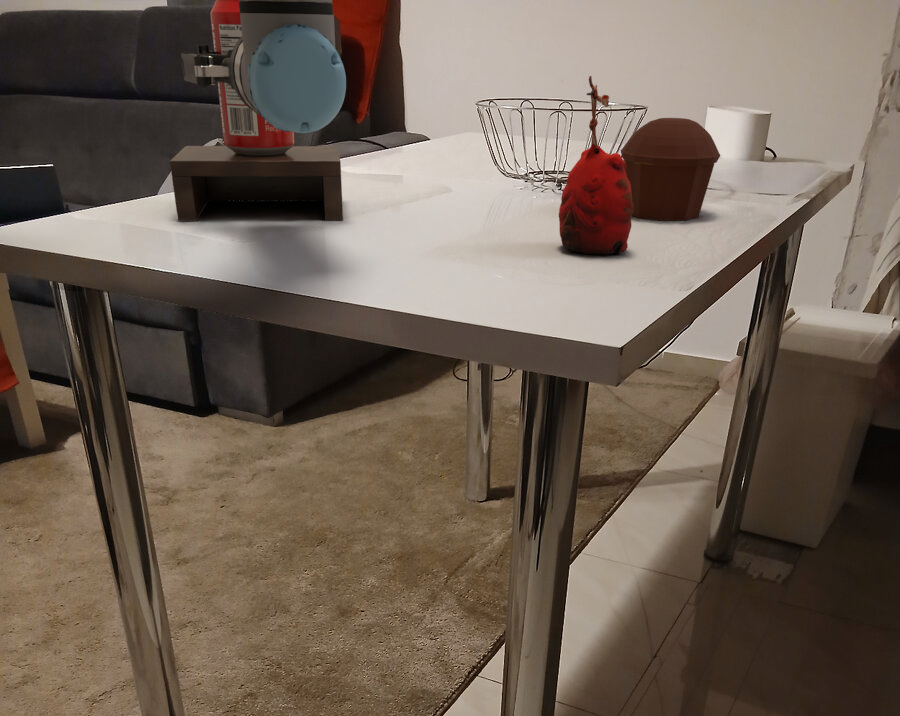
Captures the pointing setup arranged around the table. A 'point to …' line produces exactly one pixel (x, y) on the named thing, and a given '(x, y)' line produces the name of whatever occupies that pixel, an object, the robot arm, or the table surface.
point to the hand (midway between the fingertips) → (246, 64)
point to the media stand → (256, 178)
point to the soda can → (238, 121)
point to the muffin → (669, 168)
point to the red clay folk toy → (596, 198)
